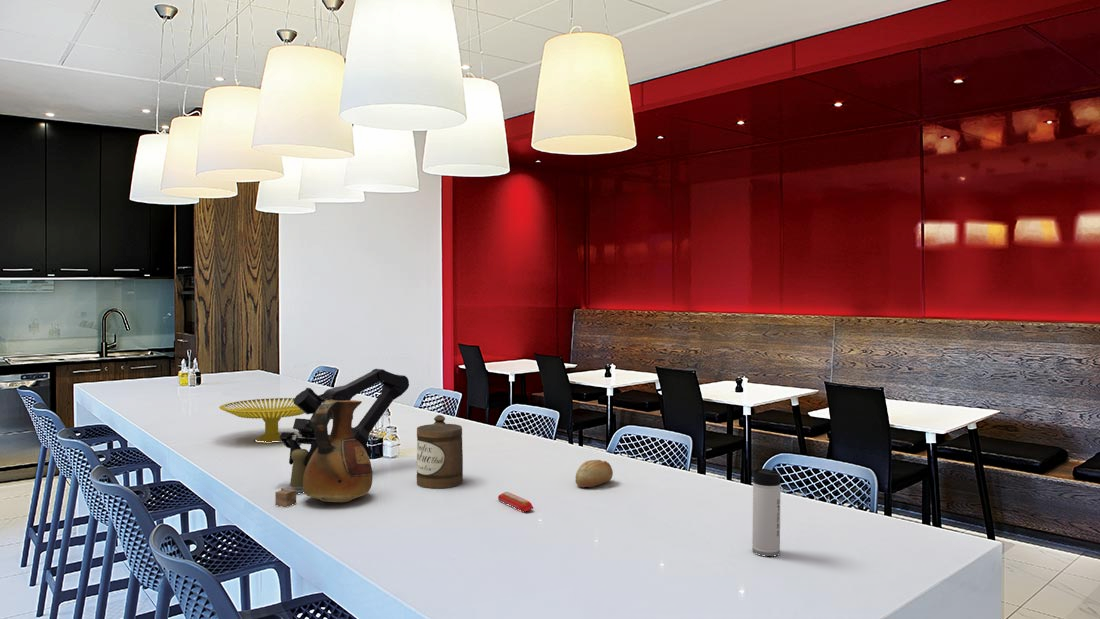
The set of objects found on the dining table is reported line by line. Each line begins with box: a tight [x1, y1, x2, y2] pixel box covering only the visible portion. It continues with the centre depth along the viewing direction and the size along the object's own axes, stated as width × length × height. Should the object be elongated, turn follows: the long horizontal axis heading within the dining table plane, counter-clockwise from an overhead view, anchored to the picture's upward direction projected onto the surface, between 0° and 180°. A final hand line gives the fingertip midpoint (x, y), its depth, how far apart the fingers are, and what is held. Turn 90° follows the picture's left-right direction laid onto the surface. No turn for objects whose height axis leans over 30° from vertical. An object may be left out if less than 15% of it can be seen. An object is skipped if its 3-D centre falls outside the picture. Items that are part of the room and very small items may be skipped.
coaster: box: [280, 485, 304, 495], centre depth 227 cm, size 8×8×1 cm
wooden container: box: [416, 414, 464, 489], centre depth 237 cm, size 15×15×22 cm
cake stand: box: [218, 397, 305, 442], centre depth 306 cm, size 40×40×15 cm
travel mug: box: [751, 467, 782, 556], centre depth 174 cm, size 6×7×20 cm
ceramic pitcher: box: [303, 399, 374, 503], centre depth 217 cm, size 20×20×30 cm
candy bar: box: [497, 491, 534, 513], centre depth 211 cm, size 16×4×3 cm, turn 33°
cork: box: [289, 448, 309, 487], centre depth 227 cm, size 6×6×11 cm
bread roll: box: [575, 459, 614, 488], centre depth 236 cm, size 10×15×8 cm, turn 138°
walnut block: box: [274, 489, 297, 508], centre depth 211 cm, size 4×4×4 cm
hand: (297, 464), depth 226 cm, fingers closed on cork, 5 cm apart
